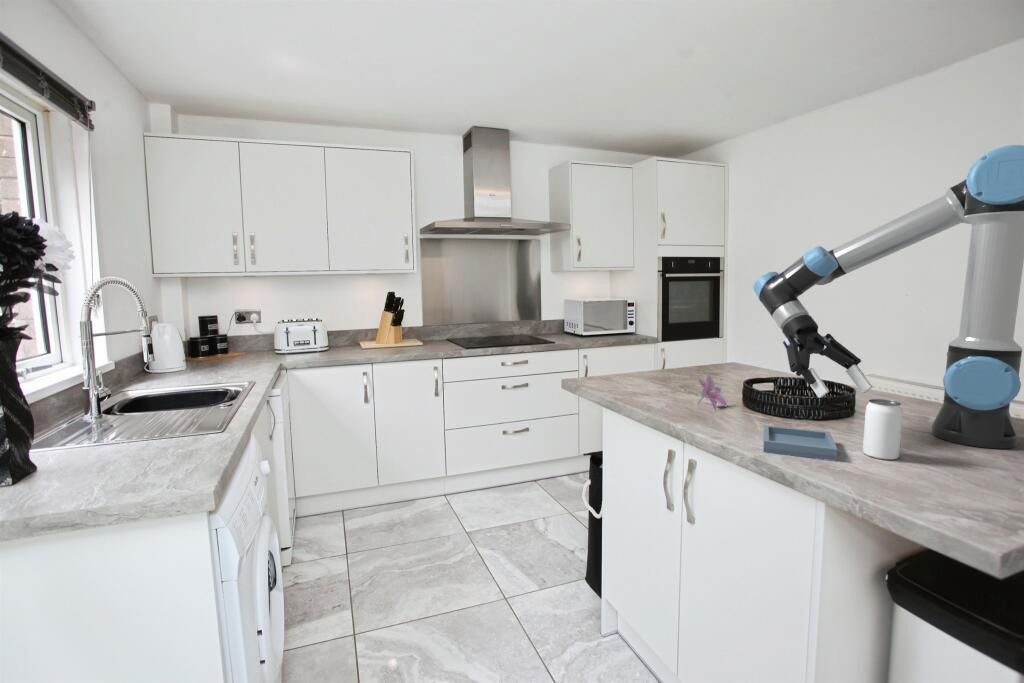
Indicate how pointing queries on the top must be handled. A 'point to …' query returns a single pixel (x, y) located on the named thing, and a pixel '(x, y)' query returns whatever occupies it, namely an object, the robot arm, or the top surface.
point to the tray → (799, 442)
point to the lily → (711, 392)
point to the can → (882, 429)
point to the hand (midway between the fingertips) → (846, 392)
